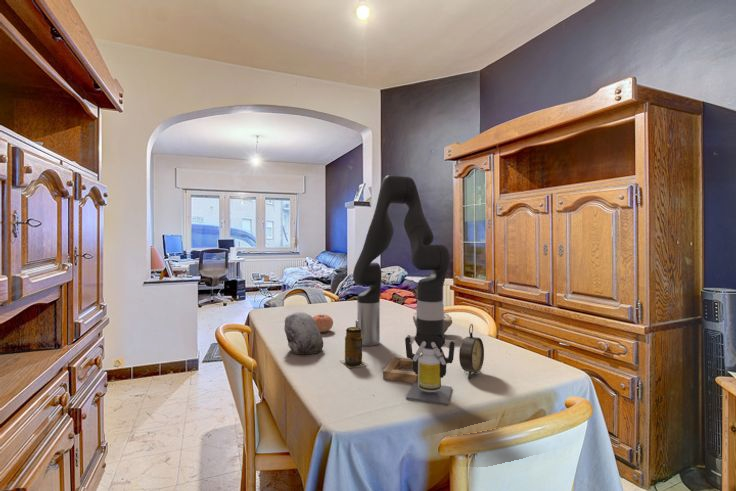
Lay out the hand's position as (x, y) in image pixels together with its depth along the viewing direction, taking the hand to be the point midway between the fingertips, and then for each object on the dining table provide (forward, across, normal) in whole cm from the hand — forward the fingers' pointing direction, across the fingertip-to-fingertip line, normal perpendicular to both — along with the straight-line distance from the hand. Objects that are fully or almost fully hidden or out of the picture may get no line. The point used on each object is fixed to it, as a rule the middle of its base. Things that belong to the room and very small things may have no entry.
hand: (429, 374), depth 103 cm
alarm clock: (+6, +10, +19) cm, 22 cm away
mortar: (+6, -9, +60) cm, 61 cm away
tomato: (+6, -58, +50) cm, 77 cm away
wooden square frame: (+5, -9, +13) cm, 17 cm away
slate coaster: (+5, 0, 0) cm, 5 cm away
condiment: (+6, -29, +16) cm, 33 cm away
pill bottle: (+4, 0, 0) cm, 4 cm away
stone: (+6, -52, +22) cm, 57 cm away
